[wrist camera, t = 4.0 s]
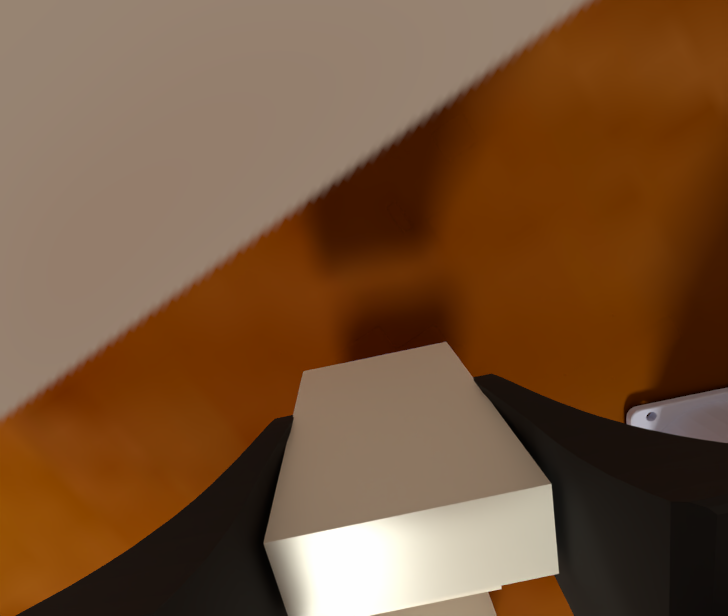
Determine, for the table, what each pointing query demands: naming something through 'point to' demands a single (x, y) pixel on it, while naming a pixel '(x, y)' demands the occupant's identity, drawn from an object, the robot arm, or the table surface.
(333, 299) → the table surface
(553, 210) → the table surface
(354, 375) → the tile
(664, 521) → the robot arm
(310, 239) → the table surface
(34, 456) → the table surface
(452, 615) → the tile
